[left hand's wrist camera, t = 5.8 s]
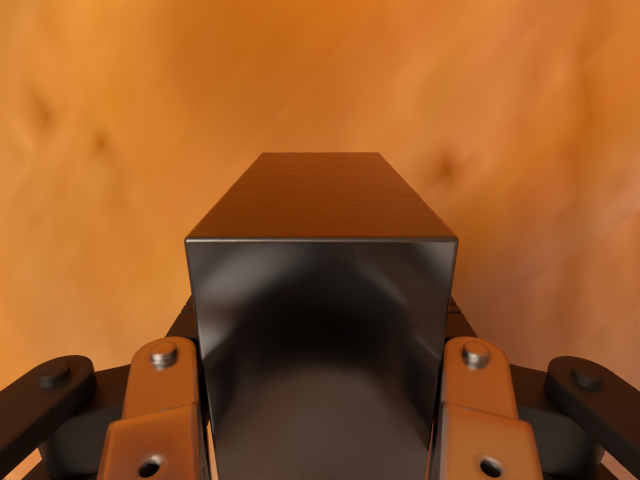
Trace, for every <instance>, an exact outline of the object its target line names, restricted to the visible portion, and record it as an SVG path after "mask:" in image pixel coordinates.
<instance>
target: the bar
mask: <svg viewBox="0 0 640 480" xmlns="http://www.w3.org/2000/svg"><path fill="white" fill-rule="evenodd" d="M458 243H459V240H458V237H457V236H456V235H455V234H454V233H453V232H452V231H451V230H450V228H449V227H448V226H447V225H446V224H445V223H444V222H443V221H442V220H441V219H440V218H439V217H438V216H437V215H436V213H435V212H434V211H433V210H432V209H431V208H430V207H429V206H428V205H427V204H426V203H425V202H424V201H423V200H422V198H421V197H420V196H419V195H418V194H417V193H416V192H415V191H414V190H413V189H412V188H411V187H410V186H409V185H408V183H407V182H406V181H405V180H404V179H403V178H402V177H401V176H400V175H399V174H398V173H397V172H396V171H395V170H394V168H393V167H392V166H391V165H390V164H389V163H388V162H387V161H386V160H385V159H384V158H383V157H382V156H381V155H380V154H379V153H262V154H261V155H260V156H259V157H258V158H257V159H256V160H255V162H254V163H253V164H252V165H251V166H250V167H249V168H248V169H247V170H246V171H245V172H244V174H243V175H242V176H241V177H240V178H239V179H238V180H237V181H236V182H235V183H234V185H233V186H232V187H231V188H230V189H229V190H228V191H227V192H226V193H225V194H224V196H223V197H222V198H221V199H220V200H219V201H218V202H217V203H216V204H215V205H214V207H213V208H212V209H211V210H210V211H209V212H208V213H207V214H206V215H205V216H204V217H203V219H202V220H201V221H200V222H199V223H198V224H197V225H196V226H195V227H194V228H193V230H192V231H191V232H190V233H189V234H188V235H187V236H186V237H185V240H184V244H185V251H186V258H187V265H188V272H189V279H190V286H191V293H192V300H193V307H194V313H195V320H196V327H197V334H198V341H199V348H200V355H201V362H202V369H203V376H204V383H205V390H206V397H207V404H208V411H209V418H210V425H211V432H212V439H213V446H214V453H215V460H216V467H217V474H218V480H425V473H426V466H427V459H428V452H429V445H430V438H431V431H432V424H433V417H434V410H435V403H436V396H437V389H438V382H439V375H440V368H441V361H442V354H443V347H444V340H445V333H446V326H447V319H448V312H449V305H450V298H451V291H452V284H453V277H454V270H455V264H456V257H457V250H458Z"/></svg>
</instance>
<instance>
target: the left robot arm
mask: <svg viewBox="0 0 640 480" xmlns="http://www.w3.org/2000/svg"><path fill="white" fill-rule="evenodd" d="M209 420H210V418H209V411H208V404H207V397H206V390H205V383H204V376H203V369H202V362H201V355H200V348H199V341H198V334H197V327H196V320H195V313H194V307H193V300H192V295H191V296H190V298H189V299H188V301H187V303H186V305H185V306H184V307H183V309H182V311H181V314H179V315H178V317H177V319H176V320H175V322H174V323H173V325H172V327H171V328H170V330H169V331H168V333H167V335H166V336H165V338H160V339H157V340H154V341H152V342H150V343H148V344H146V345H144V346H143V347H141V348H140V349H139V350H138V351H137V352H136V353H135V354H134V356H133V358H132V361H131V364H129V365H125V366H121V367H116V368H111V369H107V370H102V371H97V372H95V371H94V367H93V364H92V361H91V360H90V359H89V358H87V357H85V356H80V355H69V356H63V357H59V358H55V359H52V360H49V361H47V362H45V363H42V364H40V365H38V366H37V367H35V368H33V369H32V370H30V371H29V372H27V373H26V374H24V375H23V376H22V377H20V378H19V379H17V380H16V381H15V382H13V383H12V384H10V385H9V386H7V387H6V388H5V389H3V390H2V391H0V480H2V479H3V478H4V477H5V476H7V475H8V474H9V473H10V472H11V471H12V470H13V469H14V468H15V467H16V466H17V465H19V464H20V463H21V462H22V461H23V460H24V459H25V458H26V457H27V456H28V455H29V454H31V453H32V452H33V451H34V450H35V449H36V448H37V447H38V449H39V452H40V455H41V457H42V460H41V461H40V462H39V463H38V464H37V465H36V466H35V467H34V468H33V469H32V470H31V471H30V472H29V473H28V474H27V475H26V476H25V477H23V478H22V479H21V480H212V474H211V462H210V449H209V437H208V429H207V426H208V423H209ZM433 421H434V422H433V429H432V437H431V449H430V462H429V474H428V480H619V479H618V478H617V477H615V476H614V475H613V474H612V473H611V472H610V471H609V470H608V469H607V468H606V467H605V466H604V465H603V464H602V463H601V460H602V458H603V455H604V452H605V450H606V451H607V452H608V453H609V454H611V455H612V456H613V457H614V458H615V459H616V460H617V461H618V462H619V463H620V464H621V465H623V466H624V467H625V468H626V469H627V470H628V471H629V472H630V473H631V474H632V475H634V476H635V477H636V478H637V479H638V480H640V391H638V390H637V389H635V388H634V387H633V386H631V385H630V384H628V383H627V382H625V381H624V380H623V379H621V378H620V377H618V376H617V375H616V374H614V373H613V372H611V371H610V370H608V369H607V368H605V367H603V366H601V365H599V364H597V363H595V362H592V361H589V360H586V359H583V358H578V357H571V356H562V357H557V358H554V359H553V360H551V362H550V363H549V366H548V370H547V372H543V371H538V370H534V369H529V368H524V367H520V366H516V365H512V364H510V363H509V361H508V358H507V356H506V354H505V353H504V352H503V351H502V350H501V349H500V348H499V347H497V346H496V345H494V344H492V343H490V342H488V341H486V340H483V339H480V338H478V337H477V336H476V334H475V332H474V331H473V329H472V328H471V326H470V325H469V323H468V321H467V320H466V318H465V317H464V315H463V314H461V310H460V309H459V307H458V306H456V303H455V301H454V299H453V298H452V296H451V298H450V305H449V312H448V319H447V326H446V333H445V340H444V347H443V354H442V361H441V368H440V375H439V382H438V389H437V396H436V403H435V410H434V417H433Z"/></svg>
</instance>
